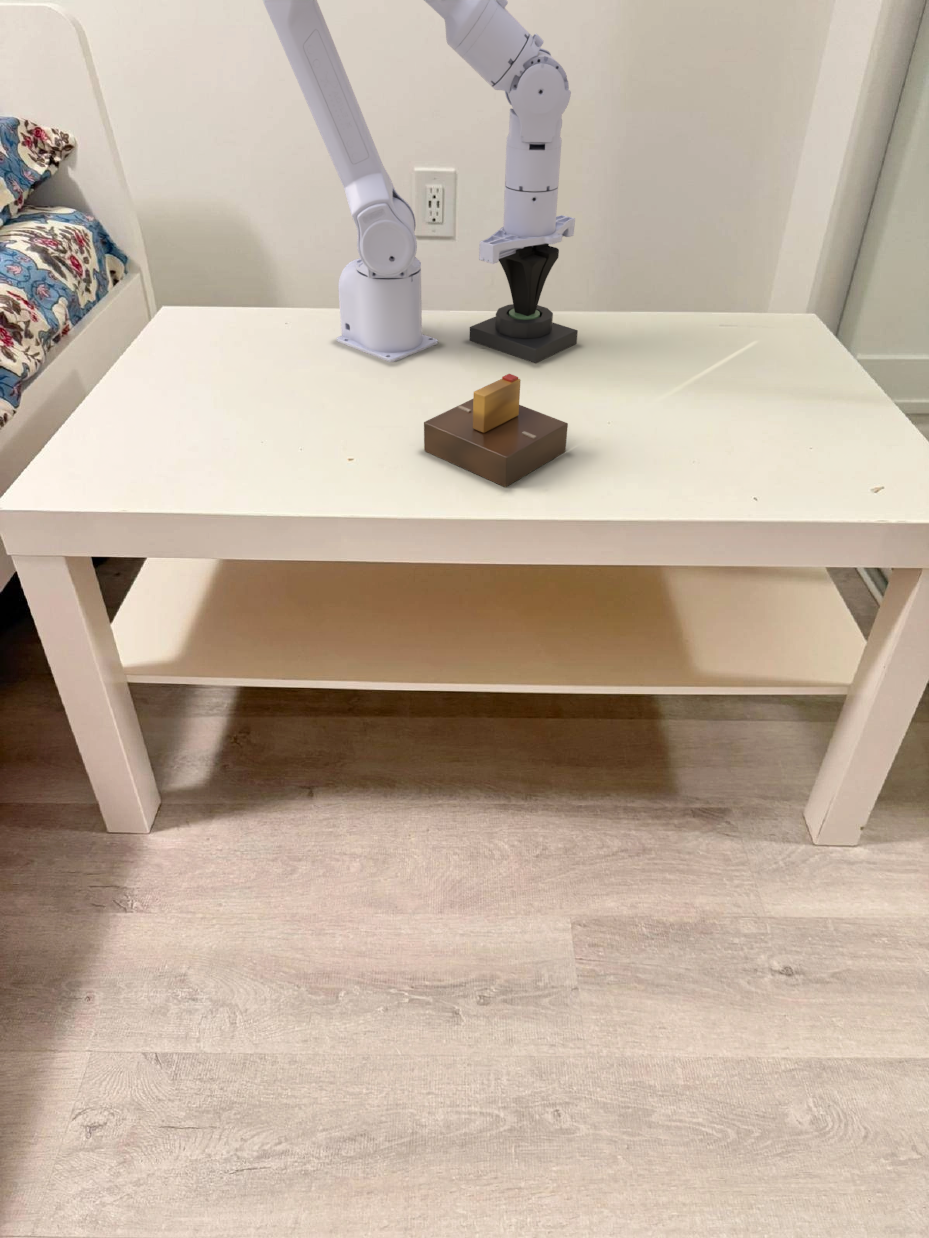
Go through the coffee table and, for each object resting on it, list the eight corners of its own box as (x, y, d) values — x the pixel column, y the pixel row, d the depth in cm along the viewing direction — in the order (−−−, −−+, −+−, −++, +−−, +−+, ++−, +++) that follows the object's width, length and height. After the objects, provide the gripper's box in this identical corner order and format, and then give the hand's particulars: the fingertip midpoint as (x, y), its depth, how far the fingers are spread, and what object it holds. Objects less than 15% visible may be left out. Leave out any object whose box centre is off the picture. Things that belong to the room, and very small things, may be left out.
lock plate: (423, 451, 83) (423, 420, 81) (485, 419, 88) (486, 390, 86) (505, 487, 78) (506, 456, 76) (565, 452, 83) (568, 421, 81)
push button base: (469, 340, 105) (469, 311, 102) (511, 323, 109) (512, 294, 107) (535, 363, 100) (537, 333, 97) (576, 344, 104) (579, 314, 102)
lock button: (502, 327, 103) (502, 312, 102) (521, 319, 105) (522, 305, 104) (526, 335, 101) (527, 320, 100) (545, 327, 103) (546, 312, 102)
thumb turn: (484, 433, 80) (485, 393, 77) (472, 428, 80) (473, 389, 78) (518, 415, 82) (521, 376, 80) (507, 411, 83) (509, 372, 81)
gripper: (518, 205, 87) (512, 339, 96) (601, 180, 96) (589, 305, 104) (465, 193, 91) (463, 322, 99) (550, 170, 99) (542, 291, 108)
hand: (524, 313), depth 102 cm, fingers closed, pressing on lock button
